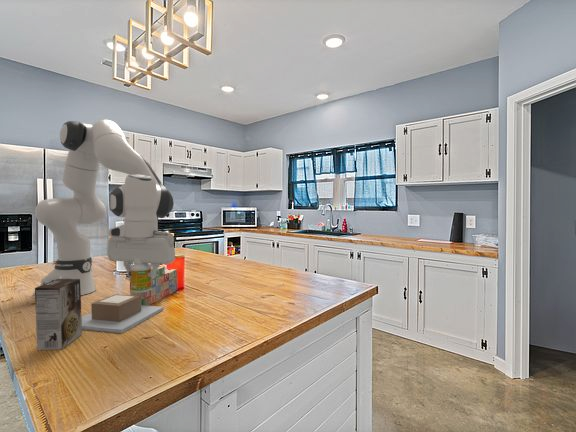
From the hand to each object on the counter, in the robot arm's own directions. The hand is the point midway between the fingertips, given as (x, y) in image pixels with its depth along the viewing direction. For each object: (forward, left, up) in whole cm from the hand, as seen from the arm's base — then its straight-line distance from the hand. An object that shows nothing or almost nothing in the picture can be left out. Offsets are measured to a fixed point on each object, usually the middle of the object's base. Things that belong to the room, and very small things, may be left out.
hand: (141, 277), depth 91 cm
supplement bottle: (0, 0, -4) cm, 4 cm away
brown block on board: (-14, +6, -15) cm, 21 cm away
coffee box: (-16, -12, -16) cm, 25 cm away
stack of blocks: (-15, +28, -16) cm, 35 cm away
